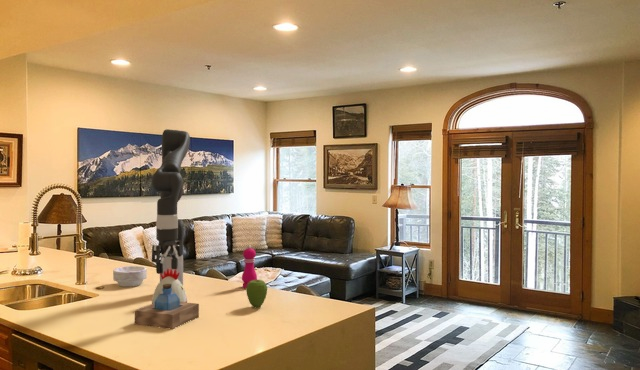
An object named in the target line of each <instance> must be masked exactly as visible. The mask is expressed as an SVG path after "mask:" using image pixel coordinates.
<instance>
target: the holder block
mask: <svg viewBox="0 0 640 370" xmlns="http://www.w3.org/2000/svg"><path fill="white" fill-rule="evenodd" d="M199 305H200V304H199V303H197V302H196V303H195V302H188V301H187V302H180V307H178V308H176V309H173V310H171V311H167V310H158V309H155V303H154V304H152V303H151V304H148V305H146V306H143V307H141V308H138V309H135V310H134V325H136V326H144V327H152V328H158V327H160V328H159V329H166V328H170V329H169V330H174V329H176V328H175V327H177V328H179V327H180V325H181V326H183V325H185V324H187V323H189V322H191V321H194V320H195V318H196V319H198V318H200V317H199V316H200V313H199V311H200V306H199ZM197 317H198V318H197ZM193 319H194V320H193ZM190 320H191V321H190ZM188 321H189V322H188ZM186 322H187V323H186ZM184 323H185V324H184ZM182 324H183V325H182ZM178 326H179V327H178Z"/></svg>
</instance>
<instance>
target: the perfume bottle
mask: <svg viewBox="0 0 640 370" xmlns="http://www.w3.org/2000/svg"><path fill="white" fill-rule="evenodd" d="M171 286H172V284H163V288H162V291H163V293H162V294H159V296H158V297H157V299H156V300H155V309H158V310H167V311H171V310H173V309H176V308H178V307H180V299H179V298H178V296H177V295H176V294H175V293H171V291H172V287H171Z"/></svg>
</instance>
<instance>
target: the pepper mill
mask: <svg viewBox="0 0 640 370" xmlns="http://www.w3.org/2000/svg"><path fill="white" fill-rule="evenodd" d="M256 254H257V252H256V250H255V249H253V248H252V245H250V244H249V245H248V246H247V248H246V249H244V250H243V253H242V257H244V259H243V260H244V261H243V262H244V270H243V272H242V274H241V281H242V282H243V283H242V288H244V289H246V287H247V284H248V283H249V282H250V281H252V280H258V275H257V272H256V270H255V261H256V259H255V257H256Z"/></svg>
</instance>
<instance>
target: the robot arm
mask: <svg viewBox="0 0 640 370" xmlns="http://www.w3.org/2000/svg"><path fill="white" fill-rule="evenodd" d="M190 144H191V136H190V133H189V132H187V131H186V130H185V131H184V130H178V129H167V128H166V129H164V130H163V131H162V134H161V165H160V167H159V168H158V169H157V170H156V171H154V174H153V175H152V178H151V187H152V188H153V190H155V191H157V192H160V198H159V199H157V202H156V204H157V205H156V223H155V224H156V228H155V229H156V232H155V234H156V236H155V237H156V238H155V240H156V241H158V244H155V245H154V244H153V245H152V246H151V262H152V263H155V266H156V267H155V272H156V274H158V275H159V282H160V281H161V280H162V278H161V275H160V274H162V275H163V276H164V271H165V272H166V273H167V269H168V268H169V272H170V270H171V269H172V271H173V274H174V271H175V269H176V271H177V274H178V273H179V272H180V274H179V276H178V278H177V279H178V280H179V281H180V282H181V284H182V285H183V286H184V234H185V230H184V229H185V226H184V224H185V223H184V221H183V220H182V219H179V218H178V203H179V201H180V200H181V199H182V196H183V192H184V191H183V190H184V178H183V177H182V174H181V173H180V172H181V167H182V164H183V161H184V160H185V158H186V155H187V153H188V152H189V149H190Z"/></svg>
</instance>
